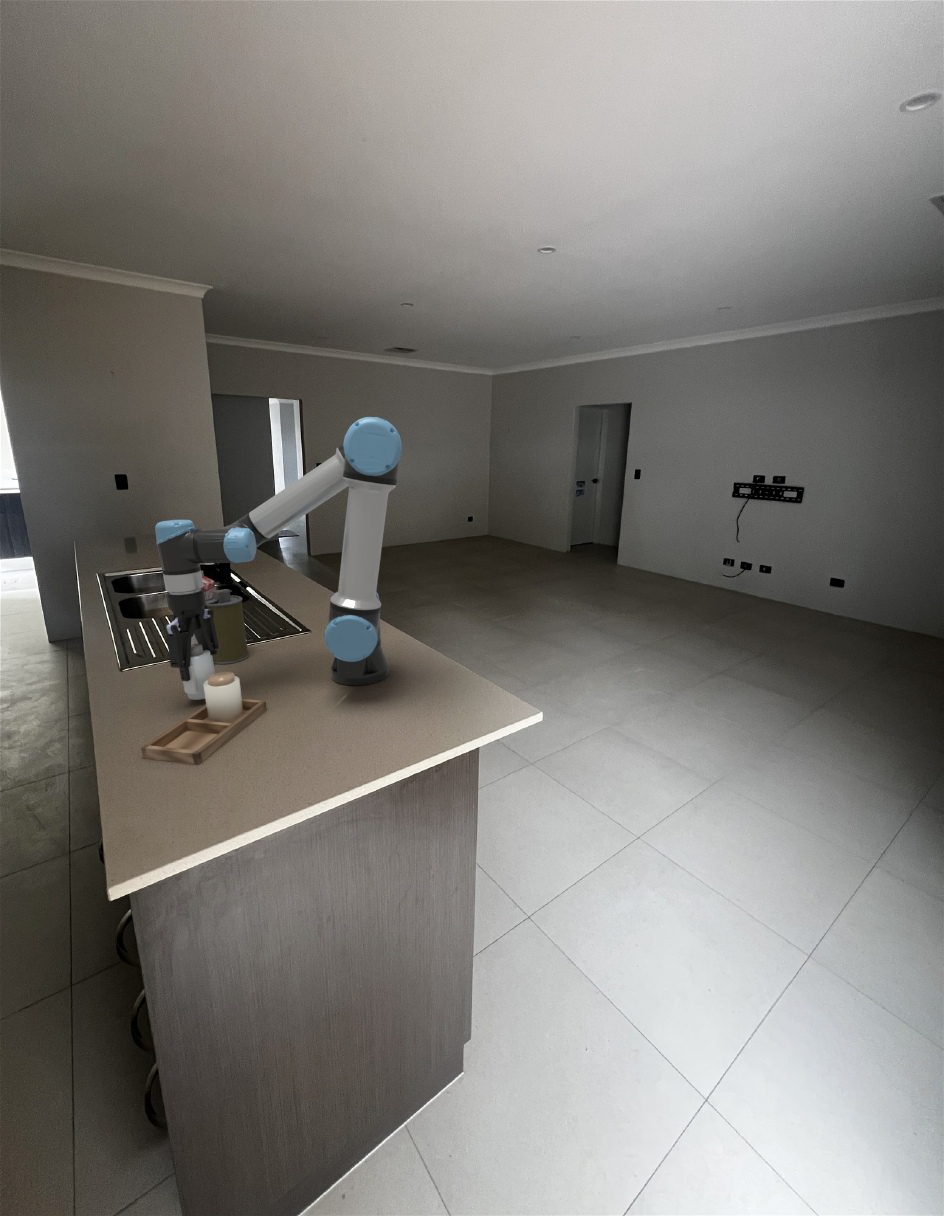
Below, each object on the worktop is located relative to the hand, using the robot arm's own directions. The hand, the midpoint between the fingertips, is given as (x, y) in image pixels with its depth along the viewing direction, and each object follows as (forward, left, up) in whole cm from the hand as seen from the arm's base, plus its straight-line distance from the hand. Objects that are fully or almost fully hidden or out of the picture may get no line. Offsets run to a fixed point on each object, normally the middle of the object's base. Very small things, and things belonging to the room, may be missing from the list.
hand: (201, 686), depth 126 cm
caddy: (-11, +13, -4) cm, 18 cm away
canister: (+13, -28, -4) cm, 31 cm away
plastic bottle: (0, 0, -2) cm, 2 cm away
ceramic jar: (-11, +8, -3) cm, 14 cm away
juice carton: (+29, -40, -4) cm, 49 cm away
